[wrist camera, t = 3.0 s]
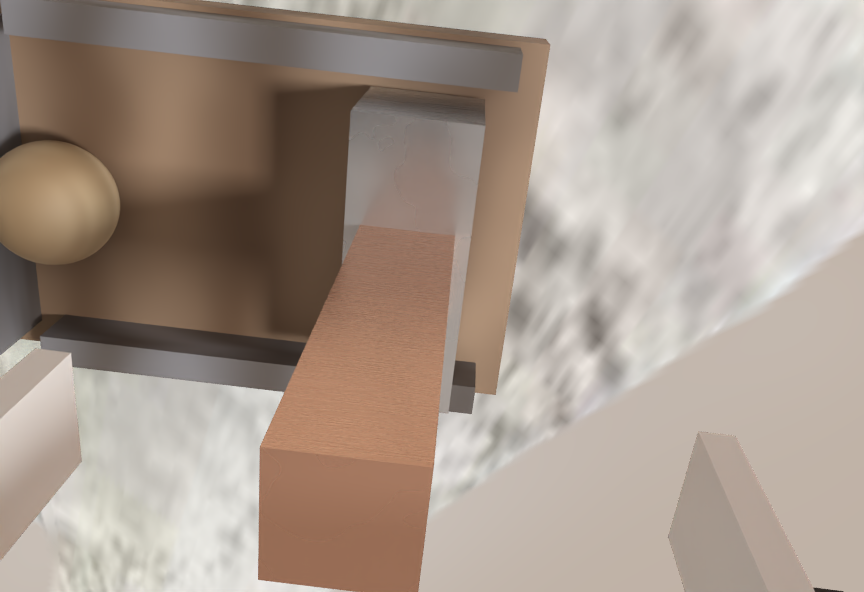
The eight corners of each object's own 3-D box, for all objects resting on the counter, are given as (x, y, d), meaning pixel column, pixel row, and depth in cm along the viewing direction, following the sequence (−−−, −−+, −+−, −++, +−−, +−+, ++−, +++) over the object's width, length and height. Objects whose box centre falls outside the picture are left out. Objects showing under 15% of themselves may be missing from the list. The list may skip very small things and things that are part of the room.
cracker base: (1, 313, 34) (-129, 410, 27) (-47, -28, 29) (-227, -22, 21) (494, 371, 34) (498, 485, 27) (545, 38, 28) (568, 68, 21)
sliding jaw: (354, 338, 31) (232, 706, 16) (371, 86, 27) (229, 253, 12) (452, 350, 31) (425, 729, 16) (484, 99, 27) (488, 284, 12)
